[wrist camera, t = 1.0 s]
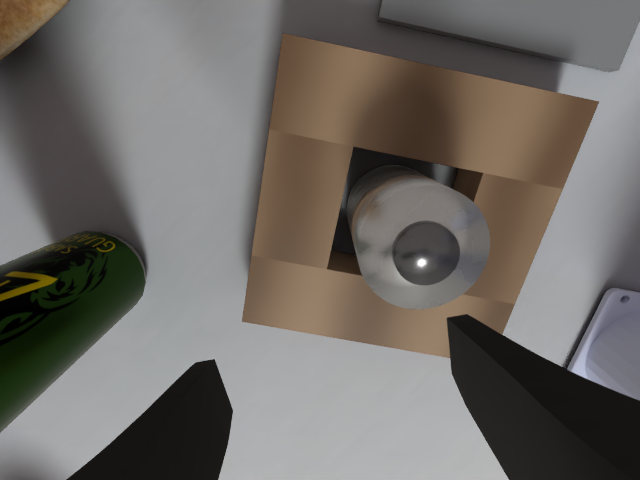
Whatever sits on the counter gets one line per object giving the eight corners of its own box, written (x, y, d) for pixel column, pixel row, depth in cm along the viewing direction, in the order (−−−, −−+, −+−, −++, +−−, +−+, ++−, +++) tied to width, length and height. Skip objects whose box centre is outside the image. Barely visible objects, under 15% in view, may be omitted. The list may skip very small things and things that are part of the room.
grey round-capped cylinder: (445, 174, 19) (517, 202, 12) (420, 257, 21) (470, 325, 14) (357, 156, 19) (377, 174, 12) (338, 241, 20) (345, 303, 13)
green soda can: (161, 304, 22) (-17, 497, 10) (79, 312, 22) (-181, 510, 11) (137, 222, 20) (-104, 347, 9) (49, 232, 20) (-296, 365, 9)
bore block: (555, 105, 18) (599, 101, 15) (468, 334, 22) (489, 365, 19) (289, 48, 17) (282, 33, 14) (252, 295, 22) (242, 321, 19)
